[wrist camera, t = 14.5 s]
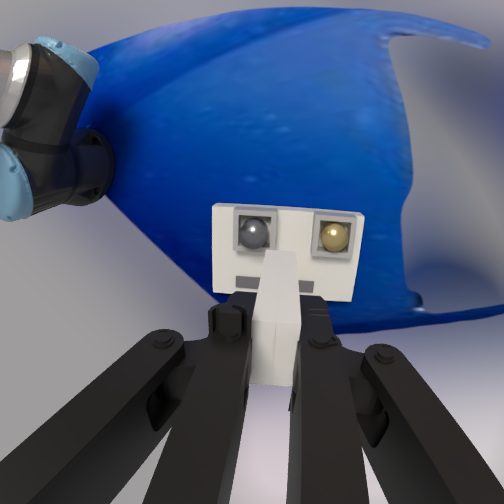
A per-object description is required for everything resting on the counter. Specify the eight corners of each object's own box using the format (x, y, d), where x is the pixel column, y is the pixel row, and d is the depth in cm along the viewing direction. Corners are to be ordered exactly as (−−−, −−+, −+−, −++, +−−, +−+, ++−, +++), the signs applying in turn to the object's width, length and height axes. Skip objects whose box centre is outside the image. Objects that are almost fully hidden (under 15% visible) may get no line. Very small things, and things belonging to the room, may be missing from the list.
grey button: (241, 242, 46) (238, 248, 43) (241, 216, 45) (238, 221, 42) (267, 243, 46) (266, 250, 43) (268, 218, 45) (267, 223, 42)
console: (216, 284, 55) (209, 298, 49) (216, 201, 50) (208, 208, 44) (347, 293, 52) (353, 308, 47) (360, 211, 47) (368, 218, 42)
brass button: (318, 244, 47) (320, 250, 44) (321, 219, 45) (323, 224, 42) (343, 246, 46) (346, 252, 43) (346, 221, 45) (350, 226, 42)
